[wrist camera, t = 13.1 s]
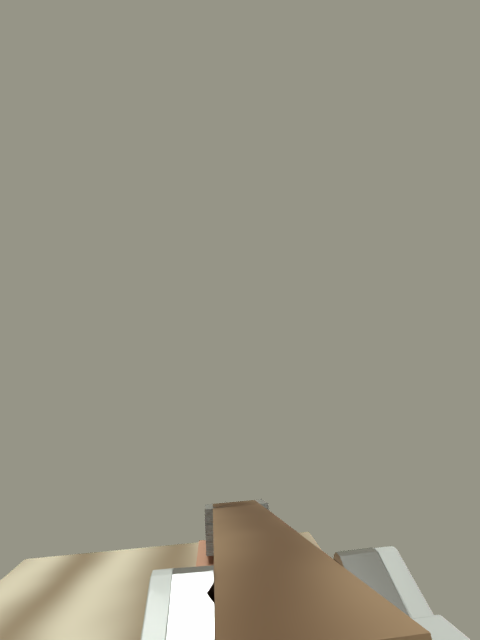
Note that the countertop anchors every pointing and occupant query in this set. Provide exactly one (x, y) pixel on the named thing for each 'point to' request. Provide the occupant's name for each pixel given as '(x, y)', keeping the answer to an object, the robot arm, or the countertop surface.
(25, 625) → the birch shelf
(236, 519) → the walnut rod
